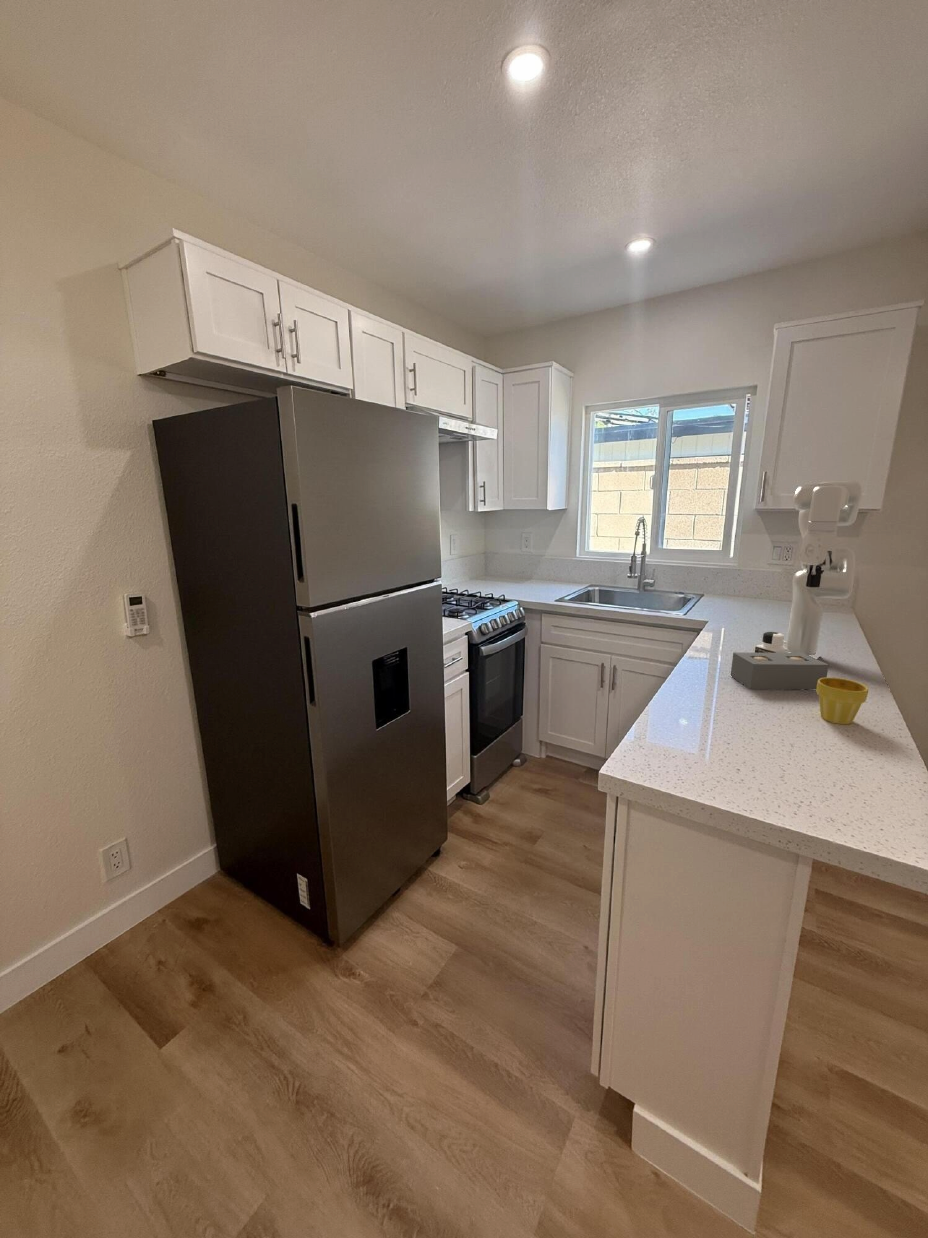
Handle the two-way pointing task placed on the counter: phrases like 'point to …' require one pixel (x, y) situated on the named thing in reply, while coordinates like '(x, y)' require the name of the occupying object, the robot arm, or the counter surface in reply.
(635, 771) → the counter surface
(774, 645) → the medicine bottle
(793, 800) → the counter surface
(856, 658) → the counter surface
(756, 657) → the peg
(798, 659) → the peg
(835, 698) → the plant pot
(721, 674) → the counter surface
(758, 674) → the collar block
